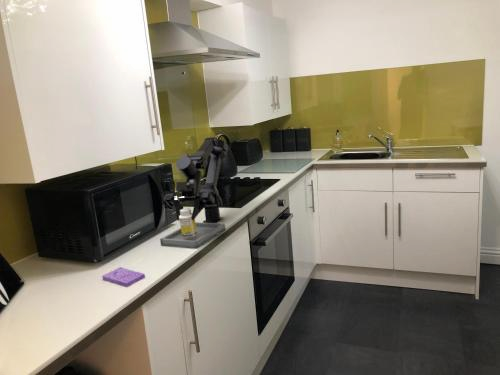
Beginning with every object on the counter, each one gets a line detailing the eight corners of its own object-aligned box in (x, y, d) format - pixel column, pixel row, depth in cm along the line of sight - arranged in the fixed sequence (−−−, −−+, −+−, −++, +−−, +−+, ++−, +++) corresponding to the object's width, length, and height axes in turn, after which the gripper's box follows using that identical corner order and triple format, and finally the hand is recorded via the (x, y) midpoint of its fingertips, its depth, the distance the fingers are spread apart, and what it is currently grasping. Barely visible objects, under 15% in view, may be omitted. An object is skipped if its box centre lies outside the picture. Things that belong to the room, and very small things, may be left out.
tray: (192, 227, 170) (191, 222, 170) (225, 229, 163) (224, 223, 162) (161, 245, 153) (160, 239, 153) (196, 248, 145) (195, 241, 145)
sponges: (121, 272, 134) (120, 266, 134) (146, 278, 126) (145, 272, 126) (102, 281, 129) (101, 275, 128) (127, 288, 121) (126, 282, 121)
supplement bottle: (193, 232, 157) (188, 206, 155) (200, 235, 153) (195, 208, 151) (180, 236, 154) (175, 210, 152) (186, 239, 150) (181, 212, 148)
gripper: (161, 173, 155) (152, 210, 147) (207, 170, 149) (200, 208, 142) (174, 188, 164) (166, 224, 156) (217, 186, 158) (211, 222, 151)
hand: (185, 219), depth 151 cm, fingers closed on supplement bottle, 5 cm apart
